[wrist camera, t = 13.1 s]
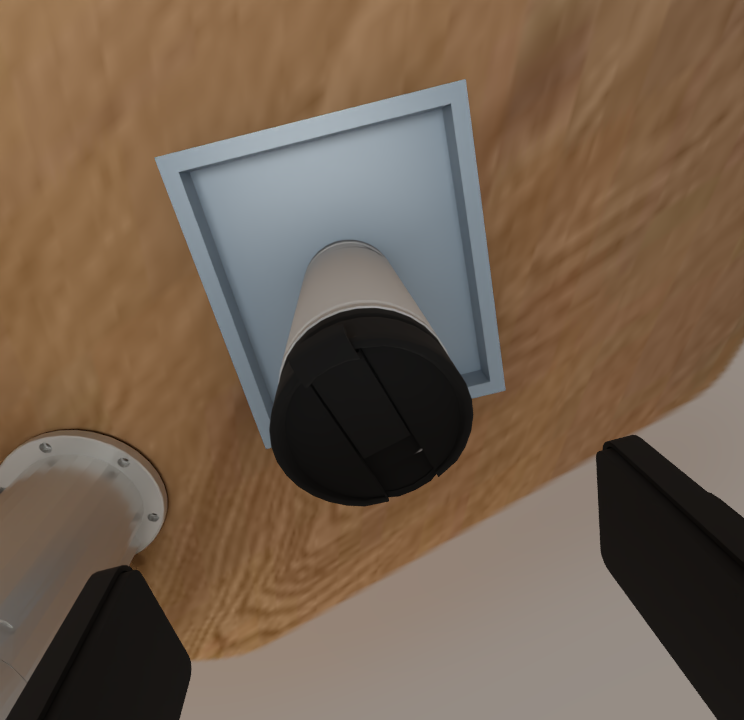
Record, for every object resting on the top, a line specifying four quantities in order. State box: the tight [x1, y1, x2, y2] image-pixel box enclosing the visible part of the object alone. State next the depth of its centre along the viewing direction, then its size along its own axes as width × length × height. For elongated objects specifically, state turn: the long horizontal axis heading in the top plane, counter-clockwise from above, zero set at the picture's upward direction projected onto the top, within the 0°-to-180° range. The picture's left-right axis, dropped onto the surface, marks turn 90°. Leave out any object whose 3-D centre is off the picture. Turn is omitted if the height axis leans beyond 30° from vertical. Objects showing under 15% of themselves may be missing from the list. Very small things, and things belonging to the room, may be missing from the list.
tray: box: [155, 79, 505, 449], centre depth 31 cm, size 20×18×3 cm
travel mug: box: [269, 240, 473, 506], centre depth 22 cm, size 6×7×20 cm
